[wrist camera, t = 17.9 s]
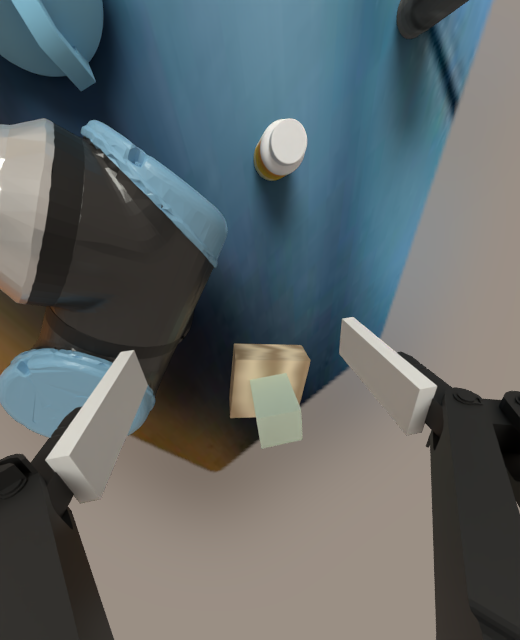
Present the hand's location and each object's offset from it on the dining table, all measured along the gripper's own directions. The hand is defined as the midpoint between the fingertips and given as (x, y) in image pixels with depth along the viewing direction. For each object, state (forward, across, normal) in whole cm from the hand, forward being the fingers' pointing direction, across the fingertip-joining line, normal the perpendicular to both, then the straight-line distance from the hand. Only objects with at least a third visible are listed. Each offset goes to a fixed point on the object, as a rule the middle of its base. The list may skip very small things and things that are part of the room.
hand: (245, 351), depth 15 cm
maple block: (+27, +4, -24) cm, 36 cm away
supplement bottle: (+27, +8, +14) cm, 31 cm away
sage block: (+21, +4, -24) cm, 32 cm away
